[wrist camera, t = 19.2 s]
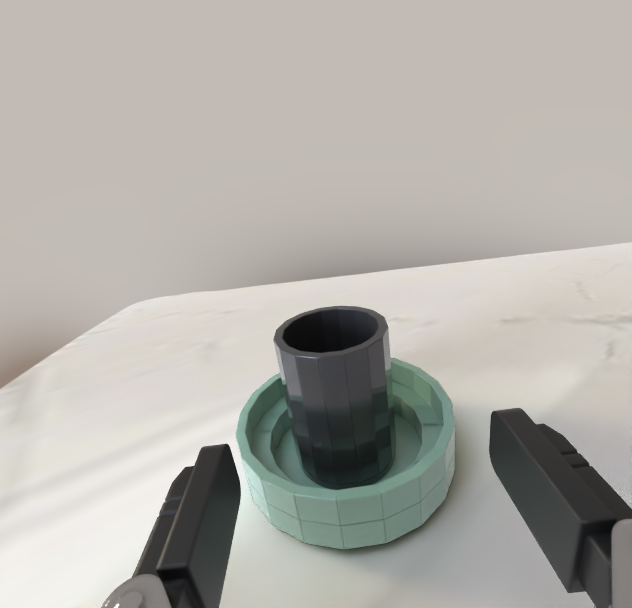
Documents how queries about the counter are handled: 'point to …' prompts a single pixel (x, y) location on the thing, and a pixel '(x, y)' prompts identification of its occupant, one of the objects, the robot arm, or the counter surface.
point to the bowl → (359, 502)
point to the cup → (339, 394)
